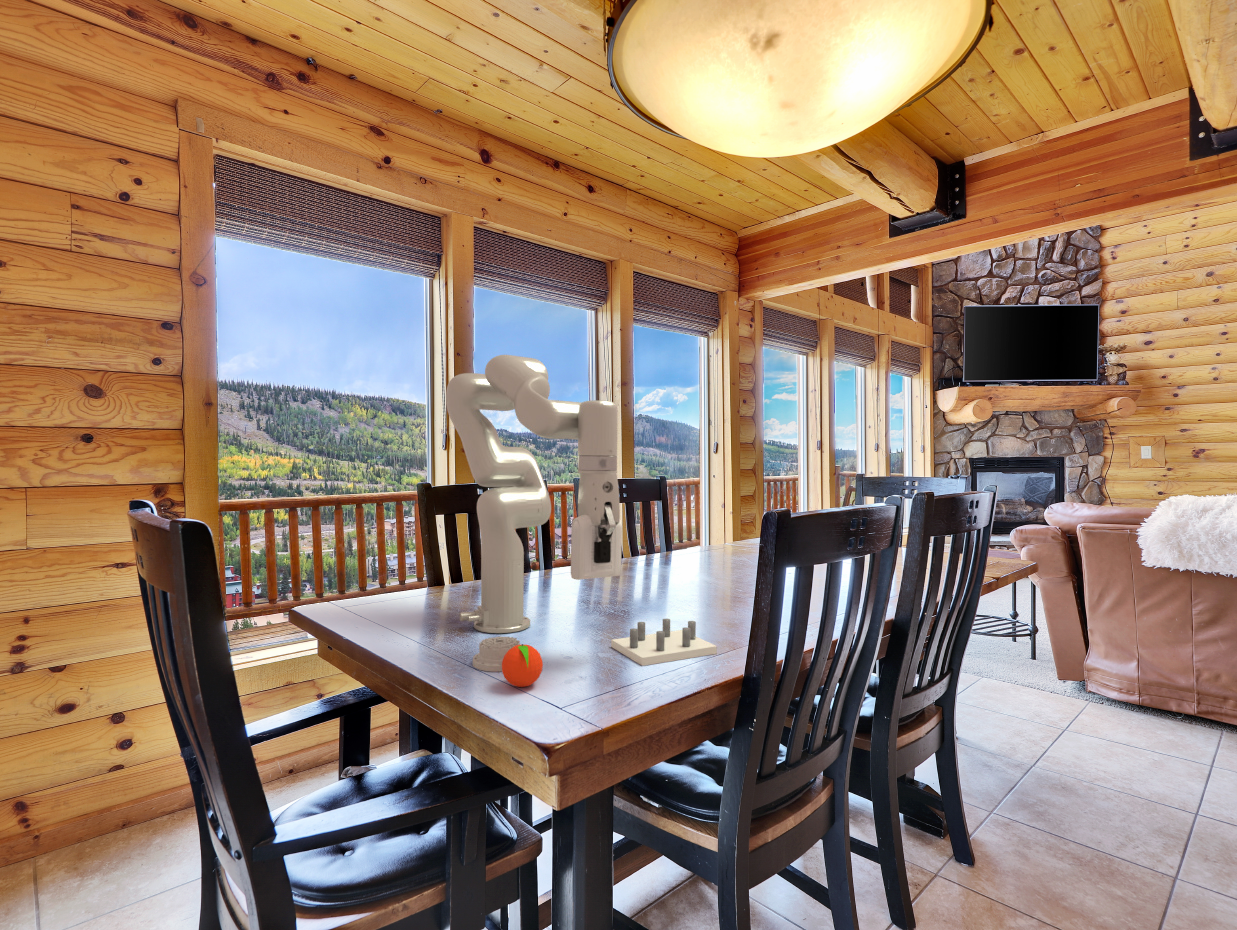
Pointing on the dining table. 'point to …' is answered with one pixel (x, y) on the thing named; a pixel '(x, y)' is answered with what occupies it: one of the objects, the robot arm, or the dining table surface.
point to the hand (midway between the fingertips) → (596, 559)
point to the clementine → (522, 665)
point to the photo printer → (592, 551)
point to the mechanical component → (493, 653)
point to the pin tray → (669, 647)
